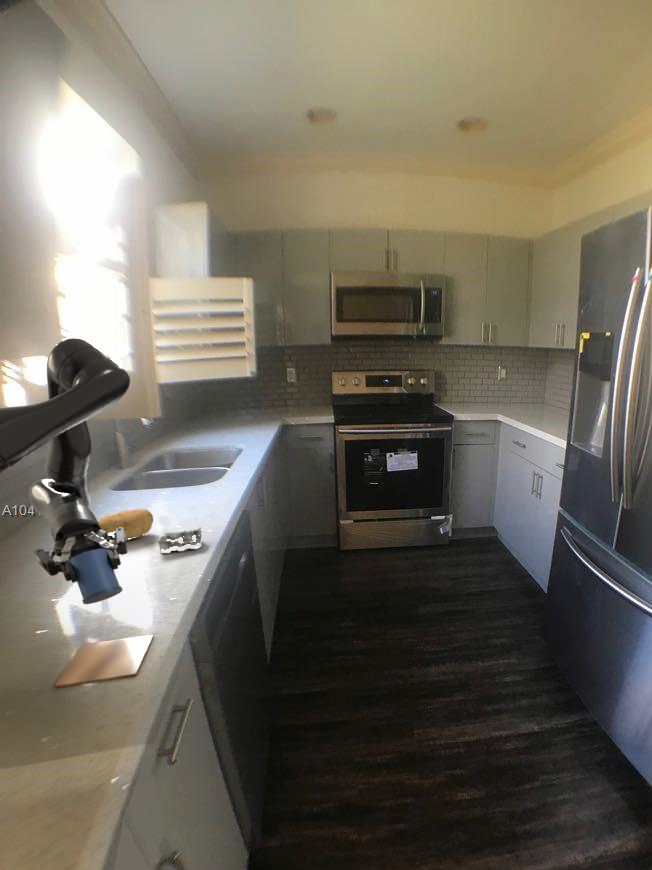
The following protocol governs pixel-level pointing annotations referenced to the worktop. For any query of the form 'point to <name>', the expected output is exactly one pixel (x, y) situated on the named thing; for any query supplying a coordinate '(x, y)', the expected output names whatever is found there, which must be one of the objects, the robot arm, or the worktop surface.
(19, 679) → the worktop surface
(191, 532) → the egg carton
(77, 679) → the mat
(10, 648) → the worktop surface
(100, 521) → the potato
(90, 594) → the cap
